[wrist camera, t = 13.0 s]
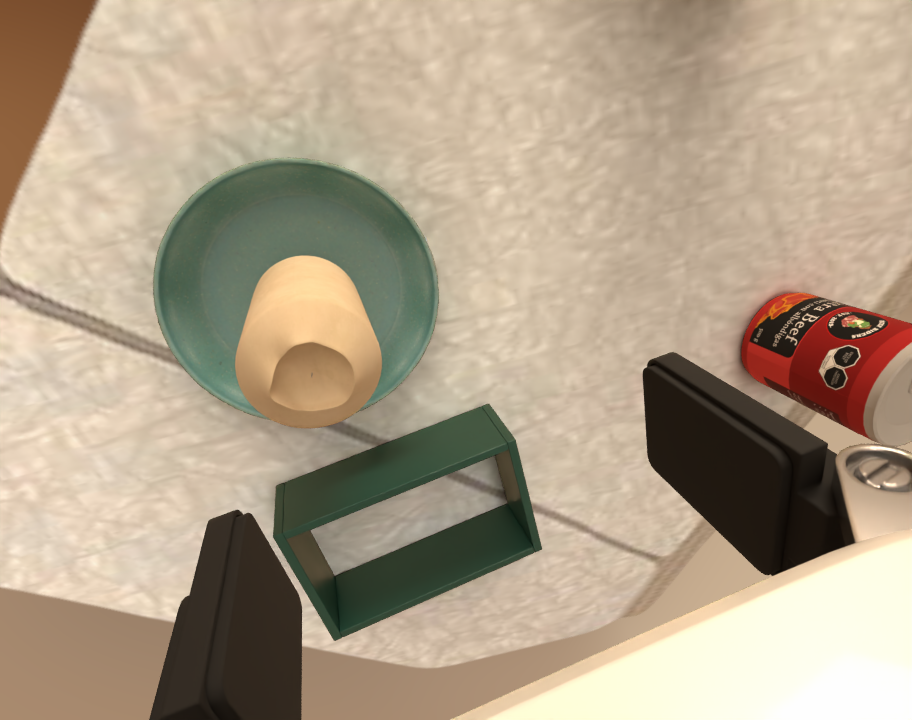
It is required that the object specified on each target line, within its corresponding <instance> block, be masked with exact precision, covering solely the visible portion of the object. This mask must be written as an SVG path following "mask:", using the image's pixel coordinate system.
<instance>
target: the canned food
mask: <svg viewBox="0 0 912 720" xmlns="http://www.w3.org/2000/svg"><path fill="white" fill-rule="evenodd" d="M741 356H742V362H743V364H744V367H745V368H746V370H747V371H748V372H749V373H750V374H751V376H752V377H753V378H754V379H756V380H757V381H759V382H760V383H762V384H764V385H766V386H768V387H770V388H772V389H774V390H776V391H778V392H780V393H781V394H783V395H785V396H787V397H789V398H791V399H793V400H795V401H797V402H799V403H801V404H803V405H804V406H806V407H808V408H810V409H812V410H814V411H816V412H818V413H820V414H822V415H824V416H826V417H828V418H829V419H831V420H833V421H835V422H837V423H839V424H841V425H843V426H845V427H847V428H849V429H850V430H852V431H854V432H856V433H858V434H861V435H863V436H865V437H867V438H869V439H871V440H872V441H875V442H878V443H880V444H882V445H887V446H893V447H897V446H901V445H905V444H907V443H909V442H912V324H911V323H908V322H904V321H901V320H897V319H894V318H890V317H887V316H883V315H880V314H876V313H873V312H870V311H866V310H863V309H859V308H856V307H852V306H849V305H845V304H842V303H838V302H835V301H831V300H828V299H824V298H821V297H818V296H814V295H811V294H806V293H789V294H783V295H781V296H778V297H776V298H774V299H773V300H771V301H769V302H768V303H767V304H766V305H764V306H763V307H762V308H761V309H760V310H759V312H758V313H757V314H756V315H755V316H754V318H753V319H752V321H751V322H750V324H749V326H748V328H747V330H746V333H745V335H744V338H743V343H742V350H741Z"/></svg>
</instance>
